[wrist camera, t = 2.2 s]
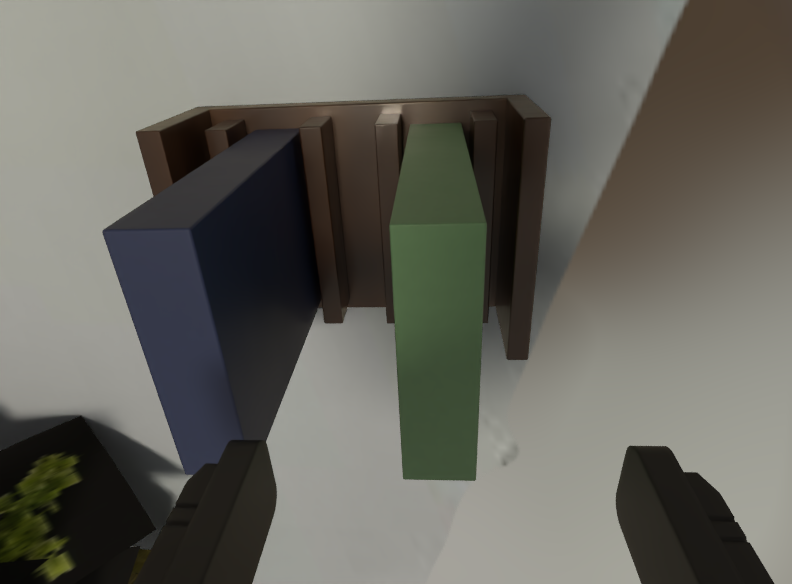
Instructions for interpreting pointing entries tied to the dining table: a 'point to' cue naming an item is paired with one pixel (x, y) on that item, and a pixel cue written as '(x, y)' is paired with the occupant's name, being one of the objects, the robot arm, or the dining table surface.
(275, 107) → the book rack
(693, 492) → the robot arm
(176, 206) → the navy book
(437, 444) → the green book
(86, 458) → the potted plant
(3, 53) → the dining table surface
